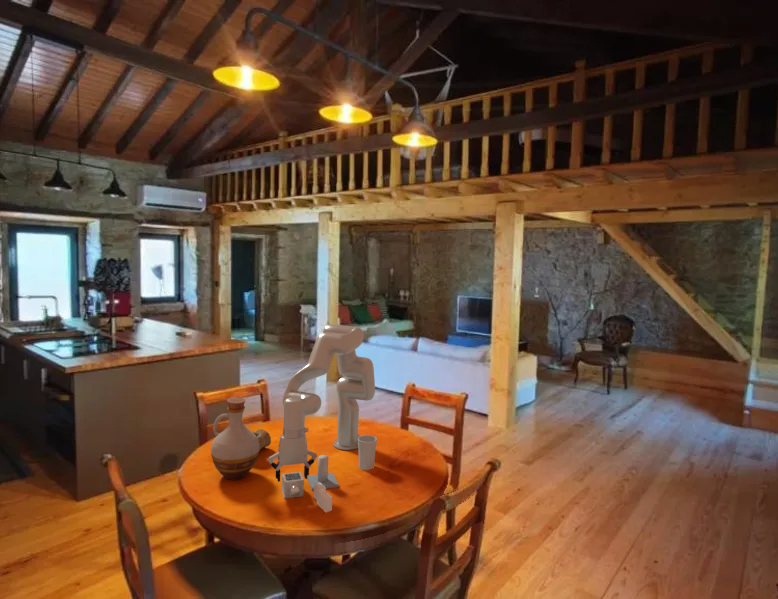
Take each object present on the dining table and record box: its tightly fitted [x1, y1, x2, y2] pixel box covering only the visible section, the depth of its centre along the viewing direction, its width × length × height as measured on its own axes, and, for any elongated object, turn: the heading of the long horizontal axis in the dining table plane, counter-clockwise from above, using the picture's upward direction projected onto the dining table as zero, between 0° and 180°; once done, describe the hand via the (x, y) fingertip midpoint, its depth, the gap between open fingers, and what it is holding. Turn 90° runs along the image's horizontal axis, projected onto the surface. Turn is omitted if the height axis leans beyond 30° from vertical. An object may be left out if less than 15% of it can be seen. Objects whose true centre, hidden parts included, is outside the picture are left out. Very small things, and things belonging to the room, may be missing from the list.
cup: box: [357, 434, 378, 471], centre depth 196 cm, size 8×8×12 cm
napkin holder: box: [313, 482, 333, 513], centre depth 166 cm, size 15×11×6 cm
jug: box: [210, 396, 260, 481], centre depth 184 cm, size 20×18×30 cm
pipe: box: [251, 428, 272, 451], centre depth 205 cm, size 9×16×10 cm, turn 169°
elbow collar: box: [281, 471, 305, 499], centre depth 171 cm, size 10×7×6 cm, turn 19°
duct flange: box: [306, 454, 340, 491], centre depth 181 cm, size 10×10×10 cm
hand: (292, 478), depth 172 cm, fingers open, 9 cm apart
